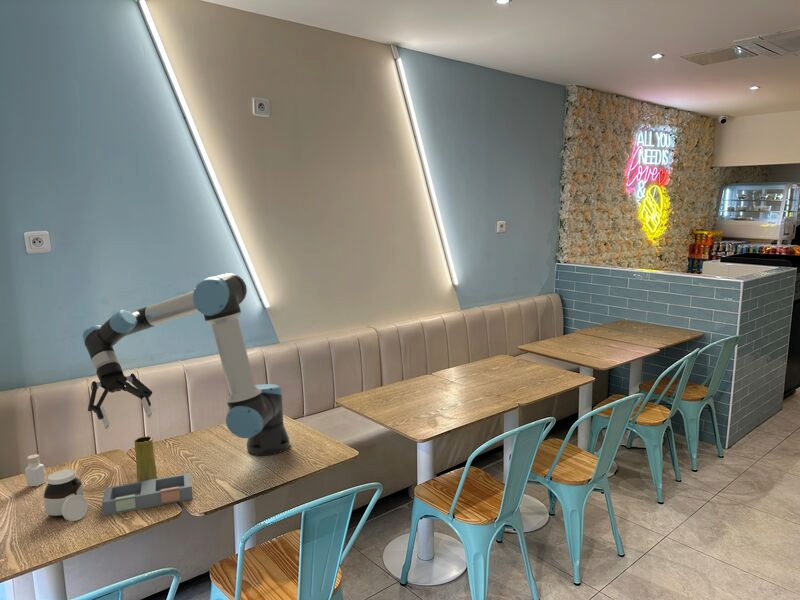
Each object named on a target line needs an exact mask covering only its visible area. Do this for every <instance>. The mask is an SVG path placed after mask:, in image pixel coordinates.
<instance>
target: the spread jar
mask: <svg viewBox="0 0 800 600" xmlns="http://www.w3.org/2000/svg"><path fill="white" fill-rule="evenodd" d="M47 482H48V484H47V485H46V488H45V490H44V493H43V503H44V511H45V514H46V515H47V516H48V517H49V518H52V519H55V518H56V519H55V520H61V518H63V519H65V520H67V521H69V522H75V521H79V520H81V519H83V518H84V517H85V516H86V514H87V512H88V509H89V503H88V500H87V499H86V497H84V490H83V489H84V488H83V484H82V480H81V479H80V478H78V477H76V471H75V470H74V469H62V470H57V471H55V472H52V473H50V474H49V475H48V476H47Z"/></svg>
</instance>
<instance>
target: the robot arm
mask: <svg viewBox="0 0 800 600" xmlns="http://www.w3.org/2000/svg"><path fill="white" fill-rule="evenodd" d="M247 292H248V288H247V284H246V282H245V281H244V279H243V278H242V277H241V276H239V275H238V274H235V273H222V274H218V275H213V276H209V277H206V278H204V279H202V280H201V281H199V282H198V283H197V284H196V286H195V287H194V289H193V290H191V291H189V292H187V293H184V294H180V295H178V296H175V297H172V298H168V299H166V300H163V301H160V302H156V303H154V304H151V305H148V306H144V307H141V308H139V309H136V310H133V311H129V310H125V309H120V310H118V311H117V312H116V313H114V314H112V316H110V317H109V318H108V319H107V321H106V322H104V323H103V324H101V325H92V326H90V327H88V328H86V329H85V330H84V331H83V332H82V339H83V343H84V347H86V350H87V353H88V355H89V357H90V360H91V363H92V365H93V368H94V370H95V371H96V372H95V374H96V376H97V378H98V381H92V382H91V385H90V390H91V392H90V397H89V403H88V407H87V411H88V412H91V411H93V413H94V414H96V417H97V419H98V420H99V421H100V420H101V421H102V424H103V426H104V429H105V430H107V429H109V427H110V426H111V424H110V421H109V418H108V416H107V413H106V411H105V409H104V406H102V405H103V402H104V401H105V400H106V397H107V395H108V393H112V394H113V393H116V392H122V391H123V392H126V393H127V392H128V393H129V394H131V395H133V396H135V397H136V398H139V399H140V402H141V405H142V408H143V410H144V412H145V414H146V415H145V416H146V417H147V419H149V418H151V416H152V414H153V412H152V410H151V409H152V408H151V406H152V402H151V400H150V398H151V396H152V395H153V391H152V389H150V388H149V387H148V386H146V385H145V384H144V383H143V382H142V381H141V380H139V379H138V378H137V376H136V375H135V373H131V374H130V375H128V376H125V374H124V371H123V369H122V366H121V364H120V362H119V359H118V357H117V355H116V352H115V349H114V346H115V345H116V344H117V343H118V342H119V341H121V340H122V339H123V338H125V337H126V336H129V335H132V334H136V333H138V332H141V331H142V332H143V331H144V330H147V329H151V328H154V327H156V326H159V325H162V324H165V323H168V322H172V321H174V320H177V319H181V318H183V317H186V316H190V315H192V314H197V313H201V314H203V318H204V322H206V323H208V324H209V325H210V326H211V328H212V331H213V336H214V339H215V344H216V347H217V351H218V355H219V358H220V362H221V366H222V369H223V374H224V377H225V380H226V385H227V388H228V392H229V395H228V398H227V399H226V404H227V407H228V412H227V414H226V416H225V425H226V427H227V429H228V430H229V432H230V433H231V434H233V435H234V436H236V437H238V438H241V439H247V440H246V441H247V442H246V451H247V450H248V451H247V452H248V453H249V452H250V453H249V454H251V453H253V454H252V455H254V454H257V455H256V456H271V455H270V454H272V455H275V454H274V453H277V454H279V453H278V452H280V451H282V452H284V451H286V450H287V449H288V448H289V447H290V446H289V444H290V443H291V442H290V437H289V435H288V432H287V430H286V427H285V423H284V405H283V392H282V387H281V385H278V384H272V383H265V384H255V379H254V375H253V372H252V368H251V364H250V360H249V356H248V352H247V348H246V345H245V341H244V336H243V333H242V329H241V327H240V326H241V325H240V322H239V316H240V315H241V314H242V310H241V306H240V304H242V302H243V301H244V300H245V298H246V296H247ZM127 381H128V382H127ZM131 384H132V385H131ZM99 387H100V388H102V389H104V390H103V391H102V394H101V396H100V398H99V399H98V401H97V404H96V405H95V401H96V397H97V396H96V395H97V392H98V389H99ZM288 446H289V447H288ZM287 447H288V448H287ZM286 448H287V449H286ZM285 449H286V450H285ZM283 450H284V451H283ZM280 453H281V452H280Z"/></svg>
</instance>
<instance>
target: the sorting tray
mask: <svg viewBox="0 0 800 600" xmlns="http://www.w3.org/2000/svg"><path fill="white" fill-rule="evenodd" d="M157 478H158V477H157ZM189 500H193V487H192V474H191V472H189V473H182V474H176V475H171V476H165V477H159V478H158V479H152V480H146V481H141V482H137V481H135V482H129V483H124V484H118V485H113V486H108V487H107V486H106V487H105V488H104V491H103V497H102V501H101V509H102V516H103V517H104V516H111V515H115V514H121V513H125V512H131V511H137V510H140V509H148V508H152V507H158V506H163V505H169V504H174V503H179V502H184V501H189Z"/></svg>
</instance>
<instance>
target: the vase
mask: <svg viewBox="0 0 800 600" xmlns="http://www.w3.org/2000/svg"><path fill="white" fill-rule="evenodd" d="M133 443H134V450H135V461H136V462H135V465H136V479H137V480H136V482H141V481H146V480H152V479H158V475H157V473H158V472H157V466H156V457H155V451H154V450H155V449H154V444H153V443H154V442H153V437H152V436H141V437H138V438H136V439H134V442H133Z"/></svg>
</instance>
